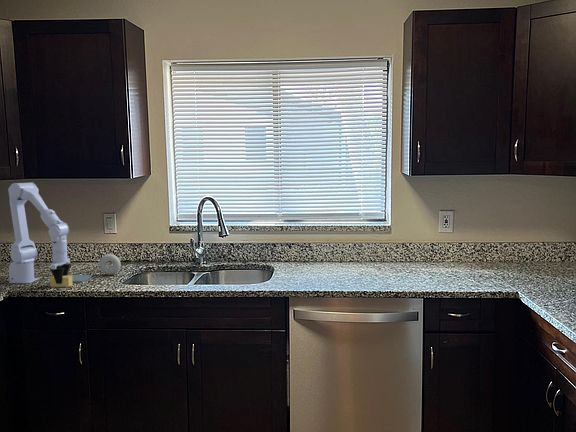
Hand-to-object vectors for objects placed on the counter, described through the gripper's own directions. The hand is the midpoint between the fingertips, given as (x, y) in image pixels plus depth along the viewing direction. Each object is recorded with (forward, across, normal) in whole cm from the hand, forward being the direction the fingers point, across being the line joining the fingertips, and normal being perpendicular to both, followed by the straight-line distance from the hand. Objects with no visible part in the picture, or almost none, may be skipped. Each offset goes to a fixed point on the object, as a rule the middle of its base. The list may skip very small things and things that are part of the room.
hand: (61, 282), depth 221 cm
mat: (+1, +11, 0) cm, 11 cm away
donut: (+2, +21, -14) cm, 25 cm away
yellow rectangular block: (+2, 0, 0) cm, 2 cm away
